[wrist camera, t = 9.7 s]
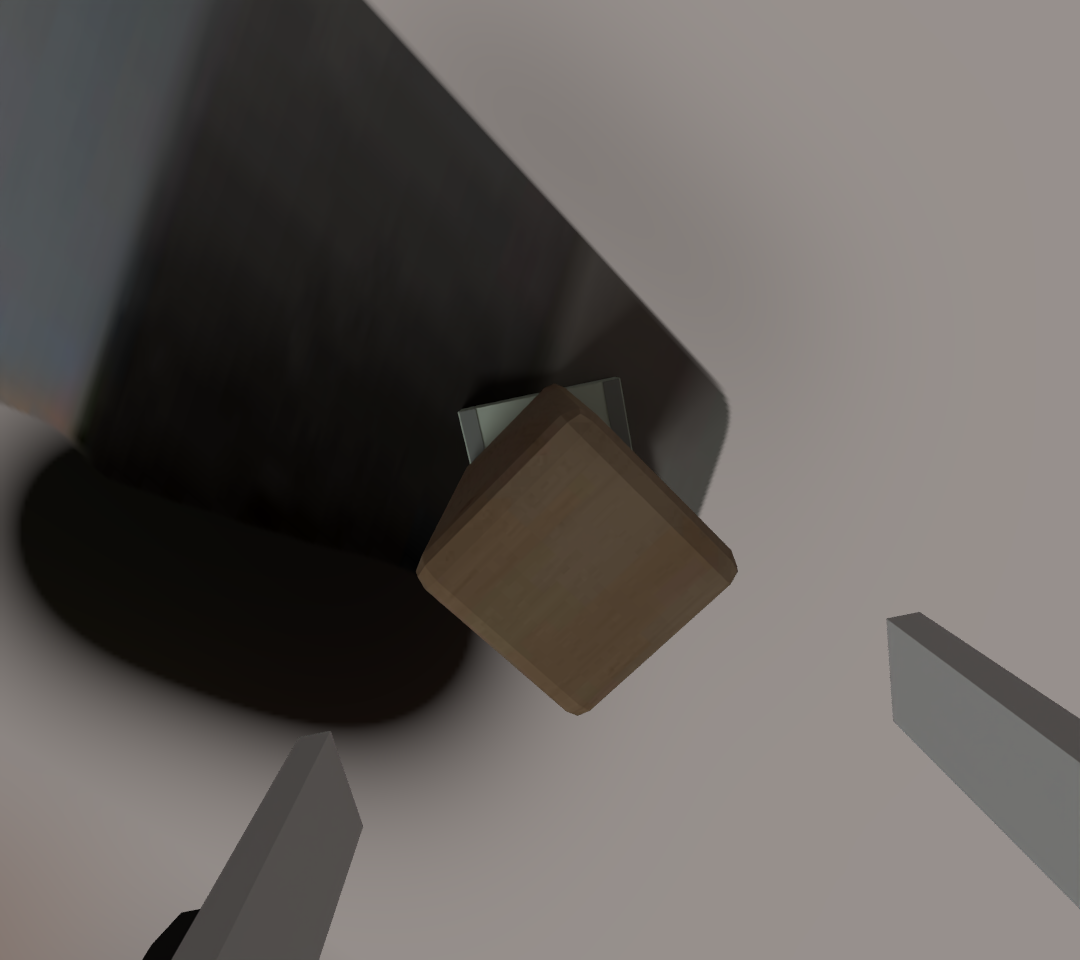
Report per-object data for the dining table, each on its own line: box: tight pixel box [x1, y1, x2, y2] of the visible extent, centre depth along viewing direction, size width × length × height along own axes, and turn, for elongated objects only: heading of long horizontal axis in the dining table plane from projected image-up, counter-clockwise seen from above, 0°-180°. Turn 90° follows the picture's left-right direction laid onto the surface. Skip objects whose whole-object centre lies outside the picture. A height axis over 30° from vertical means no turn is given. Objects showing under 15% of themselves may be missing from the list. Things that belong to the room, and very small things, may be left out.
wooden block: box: [416, 384, 738, 716], centre depth 32 cm, size 10×10×20 cm
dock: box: [458, 377, 633, 464], centre depth 43 cm, size 12×12×3 cm
